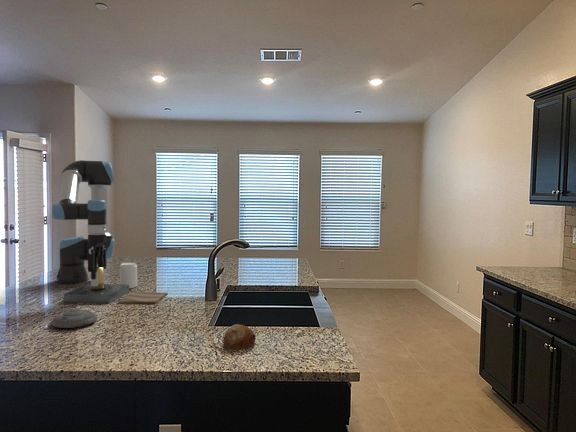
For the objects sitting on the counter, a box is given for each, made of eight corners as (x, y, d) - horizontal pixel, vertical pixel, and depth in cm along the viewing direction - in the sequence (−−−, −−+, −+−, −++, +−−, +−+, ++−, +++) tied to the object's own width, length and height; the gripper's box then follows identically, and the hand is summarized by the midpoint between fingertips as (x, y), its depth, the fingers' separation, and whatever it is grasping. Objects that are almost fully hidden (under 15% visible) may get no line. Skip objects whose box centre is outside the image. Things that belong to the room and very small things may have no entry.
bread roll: (230, 349, 132) (219, 327, 131) (258, 335, 132) (247, 314, 132) (228, 361, 122) (216, 338, 121) (258, 346, 122) (247, 324, 122)
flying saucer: (64, 334, 133) (64, 318, 133) (41, 325, 141) (41, 310, 141) (105, 322, 146) (105, 308, 146) (82, 315, 154) (82, 301, 154)
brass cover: (95, 294, 183) (94, 266, 183) (105, 294, 183) (105, 266, 183) (89, 297, 178) (89, 268, 178) (100, 297, 178) (100, 268, 178)
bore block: (87, 291, 191) (87, 283, 191) (128, 291, 191) (128, 284, 191) (63, 302, 171) (63, 294, 171) (109, 303, 171) (109, 295, 171)
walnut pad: (133, 294, 187) (133, 291, 187) (167, 294, 186) (167, 292, 186) (118, 303, 171) (118, 301, 171) (155, 304, 170) (155, 301, 170)
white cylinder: (131, 289, 195) (130, 265, 194) (116, 288, 197) (116, 264, 196) (140, 286, 203) (140, 262, 202) (126, 285, 205) (125, 262, 204)
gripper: (95, 236, 170) (95, 289, 172) (114, 232, 188) (114, 280, 189) (78, 235, 170) (78, 289, 172) (98, 231, 188) (99, 280, 190)
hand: (97, 284), depth 181 cm, fingers closed on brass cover, 5 cm apart
